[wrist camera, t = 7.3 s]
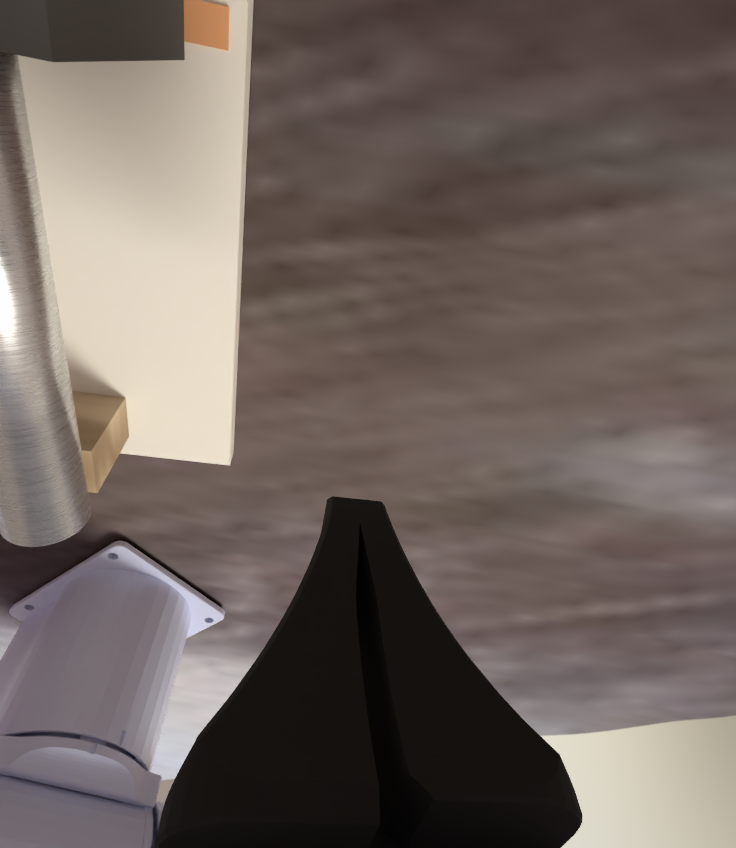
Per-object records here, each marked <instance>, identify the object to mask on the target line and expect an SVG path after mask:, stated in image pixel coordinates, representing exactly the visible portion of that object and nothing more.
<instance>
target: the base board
mask: <svg viewBox="0 0 736 848" xmlns="http://www.w3.org/2000/svg"><path fill="white" fill-rule="evenodd" d="M253 1H254V0H184V54H185V60H160V61H98V62H50V61H45V60H40V59H35V58H30V57H25V56H20V55H18V60H19V66H20V73H21V79H22V85H23V91H24V97H25V104H26V110H27V116H28V122H29V128H30V135H31V141H32V147H33V153H34V159H35V166H36V172H37V178H38V184H39V190H40V197H41V203H42V209H43V215H44V221H45V228H46V234H47V240H48V246H49V252H50V259H51V265H52V271H53V277H54V283H55V289H56V296H57V302H58V308H59V314H60V320H61V327H62V333H63V339H64V345H65V351H66V358H67V364H68V370H69V376H70V382H71V389H72V391H77V392H85V393H93V394H101V395H109V396H117V397H125V398H126V408H127V418H128V429H129V438H128V439H127V441H126V443H125V445H124V447H123V448H122V450H121V452H120V453H122V454H131V455H141V456H150V457H159V458H168V459H177V460H186V461H195V462H204V463H213V464H222V465H230V463H231V459H232V456H233V452H234V431H235V408H236V385H237V363H238V340H239V317H240V295H241V272H242V250H243V227H244V204H245V182H246V159H247V136H248V114H249V91H250V68H251V46H252V23H253Z"/></svg>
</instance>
